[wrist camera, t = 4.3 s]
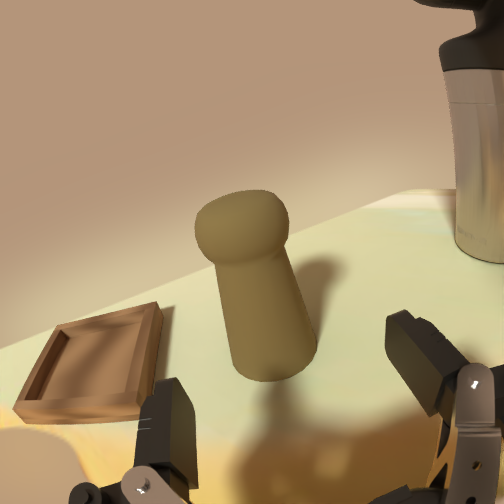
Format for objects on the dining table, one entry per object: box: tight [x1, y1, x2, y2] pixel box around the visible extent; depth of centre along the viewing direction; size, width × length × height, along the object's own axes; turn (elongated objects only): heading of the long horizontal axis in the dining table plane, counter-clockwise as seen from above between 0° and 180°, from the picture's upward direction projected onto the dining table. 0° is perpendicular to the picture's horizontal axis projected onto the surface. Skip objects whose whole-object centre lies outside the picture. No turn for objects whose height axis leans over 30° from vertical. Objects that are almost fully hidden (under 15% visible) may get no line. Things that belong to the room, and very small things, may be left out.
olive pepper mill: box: [195, 190, 316, 382], centre depth 18 cm, size 6×6×11 cm
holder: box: [13, 301, 163, 424], centre depth 21 cm, size 12×12×2 cm
